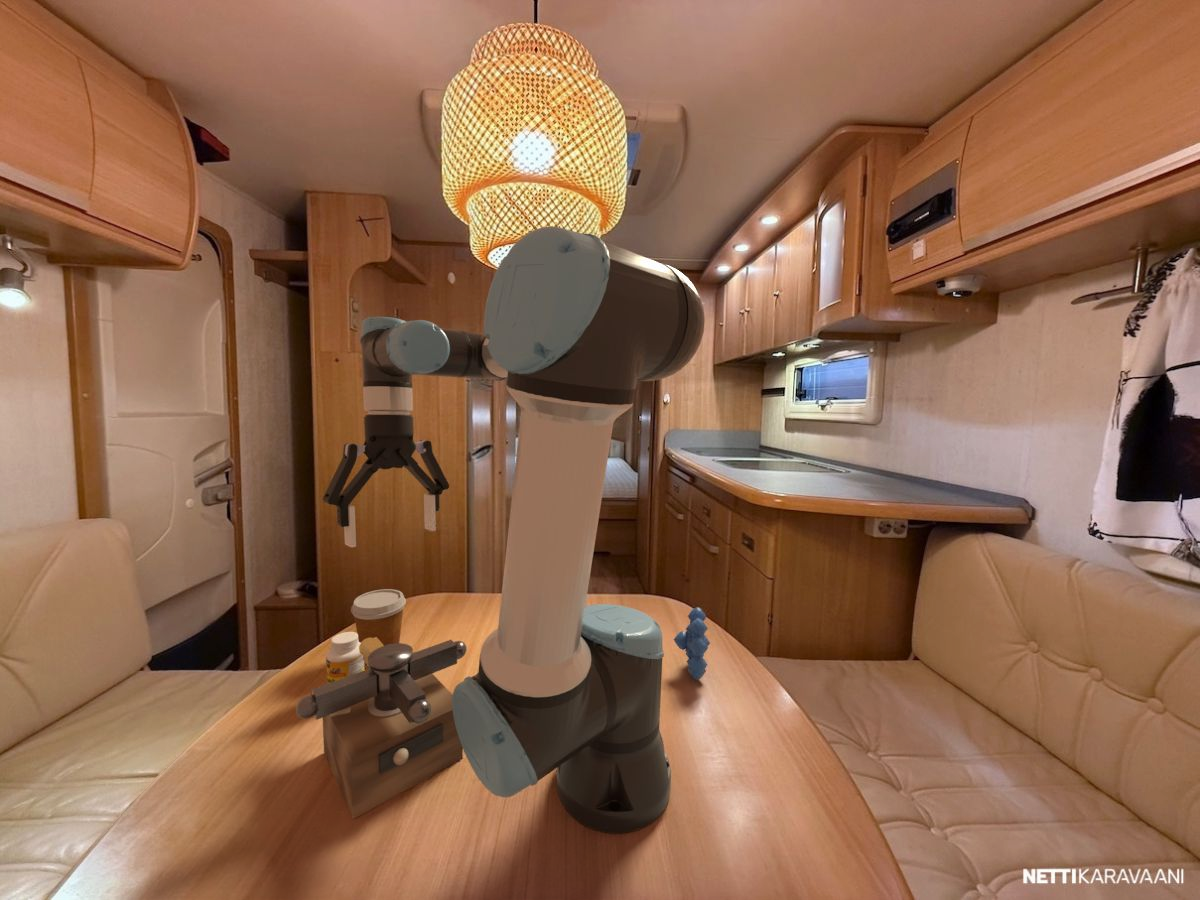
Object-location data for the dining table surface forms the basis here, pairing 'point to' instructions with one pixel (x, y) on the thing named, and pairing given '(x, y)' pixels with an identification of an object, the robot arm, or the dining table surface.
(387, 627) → the disposable coffee cup
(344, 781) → the stand
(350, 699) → the capstan
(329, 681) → the supplement bottle
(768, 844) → the dining table surface
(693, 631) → the grapes
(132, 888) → the dining table surface
